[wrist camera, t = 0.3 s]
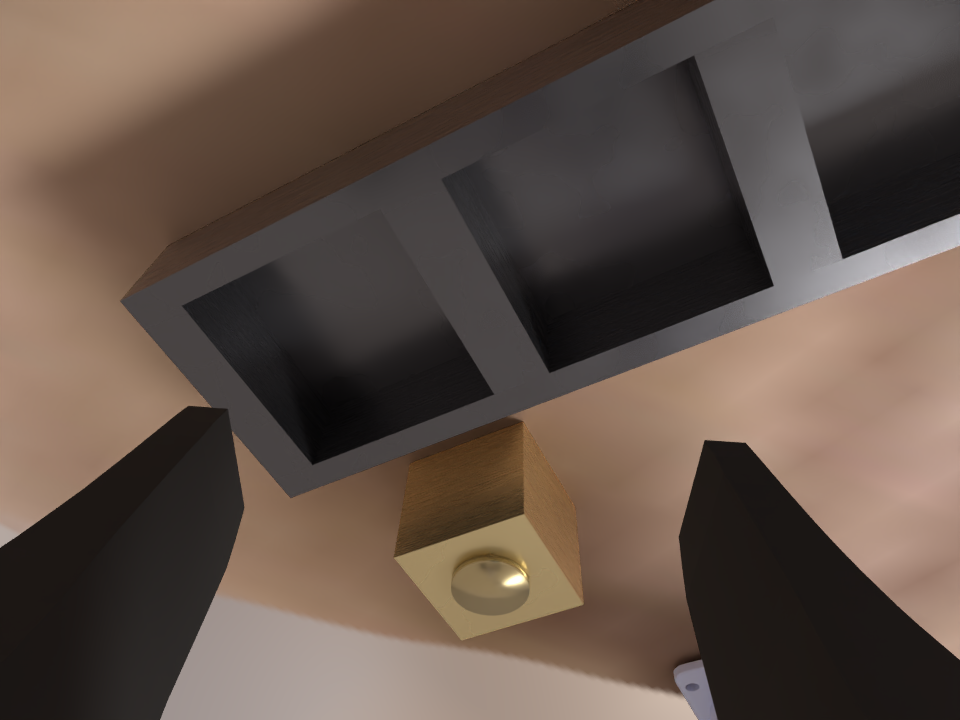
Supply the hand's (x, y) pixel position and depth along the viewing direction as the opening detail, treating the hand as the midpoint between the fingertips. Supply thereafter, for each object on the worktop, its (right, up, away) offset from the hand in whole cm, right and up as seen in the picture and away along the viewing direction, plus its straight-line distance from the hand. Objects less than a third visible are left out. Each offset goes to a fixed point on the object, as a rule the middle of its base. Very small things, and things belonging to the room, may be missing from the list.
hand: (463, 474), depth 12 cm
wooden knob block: (+1, -2, +13) cm, 14 cm away
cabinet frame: (+3, +6, +7) cm, 10 cm away
